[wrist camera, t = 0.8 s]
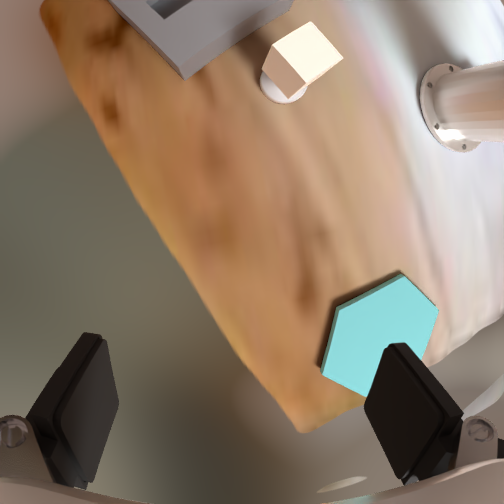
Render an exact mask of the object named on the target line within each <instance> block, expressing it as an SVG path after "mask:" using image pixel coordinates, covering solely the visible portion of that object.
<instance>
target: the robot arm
mask: <svg viewBox="0 0 504 504" xmlns="http://www.w3.org/2000/svg"><path fill="white" fill-rule="evenodd" d="M420 102H421V108H422V113H423V116H424V119H425V121H426V124H427V126H428V128H429V129H430V131H431V133H432V134H433V136H434V137H435V138H436V139H437V140H438V141H439V142H440V144H442V145H443V146H444V147H446V148H447V149H449V150H452V151H455V152H469V151H472V150H473V149H475V148H476V147H477V146H478V145H479V144H480V143H481V142H503V143H504V60H502V61H497V62H493V63H488V64H484V65H480V66H476V67H472V68H468V69H464V70H463V69H461V68H460V67H458V66H456V65H453V64H447V63H444V64H439V65H436V66H434V67H432V68H431V69H429V70H428V72H427V73H426V74H425V76H424V78H423V80H422V83H421V88H420ZM118 405H119V400H118V395H117V390H116V386H115V381H114V377H113V372H112V367H111V362H110V356H109V351H108V346H107V341H106V340H105V339H102V336H101V335H99V334H93V333H87V332H84V333H83V334H82V335H81V337H80V338H79V340H78V341H77V343H76V344H75V345H74V347H73V348H72V350H71V351H70V352H69V354H68V355H67V357H66V358H65V360H64V361H63V363H62V364H61V366H60V367H58V369H57V370H56V371H55V372H54V374H53V375H52V377H51V378H50V380H49V381H48V383H47V384H46V386H45V388H44V389H43V391H42V392H41V394H40V395H39V397H38V398H37V400H36V402H35V403H34V405H33V406H32V408H31V410H30V411H29V413H28V415H27V416H26V418H23V417H21V416H18V415H6V416H4V417H1V418H0V504H150V503H143V502H137V501H132V500H126V499H120V498H115V497H110V496H106V495H101V494H97V493H93V492H88V491H85V490H86V488H87V485H88V482H90V483H91V482H93V480H94V478H95V475H96V472H97V469H98V465H99V462H100V459H101V456H102V453H103V450H104V447H105V444H106V441H107V438H108V435H109V432H110V430H111V427H112V424H113V421H114V418H115V415H116V413H117V410H118ZM364 410H365V413H366V415H367V417H368V419H369V421H370V423H371V425H372V427H373V430H374V432H375V434H376V436H377V438H378V440H379V442H380V444H381V446H382V448H383V450H384V452H385V454H386V456H387V458H388V461H389V463H390V465H391V467H392V469H393V471H394V473H395V475H396V477H397V478H398V479H401V481H402V483H403V485H404V486H402V487H398V488H394V489H391V490H387V491H383V492H379V493H375V494H371V495H366V496H362V497H357V498H352V499H347V500H341V501H335V502H329V503H323V504H504V440H502V439H499V438H498V433H497V429H496V427H495V425H494V424H493V423H492V422H491V421H489V420H488V419H486V418H484V417H481V416H470V417H468V418H466V419H465V420H464V422H463V420H462V419H461V417H462V416H463V414H464V413H463V411H462V410H461V409H460V408H459V406H458V405H457V404H456V403H455V401H454V400H453V399H452V398H451V396H450V395H449V394H448V393H447V391H446V390H445V389H444V388H443V386H442V385H441V384H440V383H439V381H438V380H437V379H436V378H435V377H434V375H433V374H432V373H431V372H430V371H429V369H428V368H427V367H426V366H425V365H424V363H423V362H422V361H421V360H420V359H419V357H418V356H417V355H416V354H415V353H414V352H413V350H412V349H411V348H410V347H409V346H408V345H407V344H406V343H405V342H400V343H391V344H389V345H388V347H387V348H385V349H384V350H383V353H382V356H381V359H380V362H379V365H378V368H377V371H376V374H375V377H374V379H373V382H372V385H371V388H370V390H369V393H368V396H367V398H366V401H365V404H364ZM418 480H419V482H417V481H418ZM414 482H415V483H414ZM411 483H412V484H411ZM74 487H78V488H81V489H85V490H81V489H76V488H74Z"/></svg>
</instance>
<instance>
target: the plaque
mask: <svg viewBox="0 0 504 504" xmlns="http://www.w3.org/2000/svg"><path fill="white" fill-rule="evenodd" d="M438 312H439V310H438V309H437V308H436V307H435V306H434V305H433V304H432V303H431V302H430V301H429V300H428V299H427V298H426V297H425V296H424V295H423V294H422V293H421V292H420V291H419V290H418V289H417V288H416V287H415V286H414V285H413V284H412V283H411V282H410V281H409V280H408V279H407V278H406V277H405V276H403V275H402V274H399V275H397V276H395V277H394V278H392V279H390V280H388V281H386V282H384V283H383V284H381V285H379V286H377V287H375V288H373V289H371V290H369V291H367V292H365V293H363V294H362V295H360V296H358V297H356V298H354V299H352V300H350V301H348V302H346V303H344V304H342V305H340V306H338V307H336V311H335V316H334V320H333V324H332V328H331V332H330V336H329V340H328V344H327V347H326V351H325V355H324V359H323V362H322V366H321V369H320V372H321V374H322V375H323V376H325V377H327V378H329V379H331V380H333V381H335V382H337V383H339V384H341V385H343V386H345V387H347V388H349V389H351V390H353V391H355V392H357V393H359V394H361V395H363V396H365V397H366V396H368V393H369V390H370V388H371V385H372V382H373V379H374V377H375V374H376V371H377V368H378V365H379V362H380V359H381V356H382V353H383V350H384V349H385V348H387V347H388V345H389V344H391V343H400V342H405V343H406V344H407V345H408V346H409V347H410V348H411V349H412V350H413V352H414V353H415V354H416V355H417V356H418V357H419V359H420V360H421V359H422V357H423V354H424V351H425V349H426V346H427V344H428V341H429V338H430V335H431V333H432V330H433V327H434V324H435V321H436V318H437V315H438Z"/></svg>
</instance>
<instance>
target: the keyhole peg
mask: <svg viewBox="0 0 504 504" xmlns="http://www.w3.org/2000/svg"><path fill="white" fill-rule="evenodd" d="M342 59H343V57H342V56H341V55H340V54H339V52H338V51H337V50H336V49H335V48H334V46H333V45H332V44H331V43H330V42H329V41H328V40H327V38H326V37H325V36H324V35H323V34H322V33H321V32H320V31H319V30H318V29H317V27H316V26H315V25H314V24H313V23H312V22H311V21H310V22H308V23H307V24H305V25H303V26H302V27H300V28H298V29H297V30H295V31H293V32H292V33H290V34H288V35H287V36H285V37H283V38H282V39H280V40H279V41H277V42H276V43H274V44H272V46H271V48H270V51H269V53H268V55H267V57H266V60H265V62H264V64H263V67H262V70H263V72H262V74H261V77H260V88H261V90H262V92H263V94H264V95H265V96H266V97H267V98H268V99H269V100H271V101H273V102H275V103H278V104H289V103H292V102H294V101H296V100H297V99H299V98H300V97H301V96H302V95H303V94H304V93H305V91H306V89H307V85H309V84H310V83H312V82H313V81H315V80H316V79H317V78H319V77H320V76H321V75H323V74H324V73H325V72H326V71H328V70H329V69H330V68H331V67H333V66H334V65H335V64H337V63H338V62H339V61H340V60H342Z"/></svg>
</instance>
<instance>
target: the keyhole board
mask: <svg viewBox="0 0 504 504" xmlns="http://www.w3.org/2000/svg"><path fill="white" fill-rule="evenodd" d="M108 1H109V2H110V4H111V5H112V6H113V8H114V9H115V10H116V11H117V12H118V13H119V14H120V15H121V16H122V17H123V18H124V19H125V20H126V21H127V22H128V23H129V24H130V25H131V26H132V27H133V28H134V29H135V30H136V31H137V32H138V33H139V34H140V35H141V36H142V37H143V38H144V39H145V40H146V41H147V42H148V43H149V44H150V45H151V46H152V47H153V48H154V49H155V50H156V51H157V52H158V53H159V54H160V55H161V56H162V57H163V58H164V59H165V60H166V61H167V62H168V63H169V64H170V65H171V67H172V68H173V69H174V70H175V71H176V72H177V73H178V74H179V75H180V76H181V77H182V78H183V79H184V80H187V79H188V78H189V77H191V76H192V75H193V74H194V73H196V72H197V71H198V70H200V69H201V68H202V67H204V66H205V65H206V64H208V63H209V62H210V61H212V60H213V59H214V58H216V57H217V56H218V55H220V54H221V53H223V52H224V51H226V50H227V49H228V48H230V47H231V46H233V45H234V44H236V43H237V42H239V41H240V40H242V39H243V38H245V37H246V36H248V35H249V34H251V33H252V32H254V31H256V30H257V29H259V28H260V27H262V26H264V25H265V24H267V23H268V22H270V21H272V20H273V19H275V18H277V17H279V16H280V15H282V14H284V13H286V12H287V11H289V9H290V7H291V5H292V3H293V1H294V0H108Z"/></svg>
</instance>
